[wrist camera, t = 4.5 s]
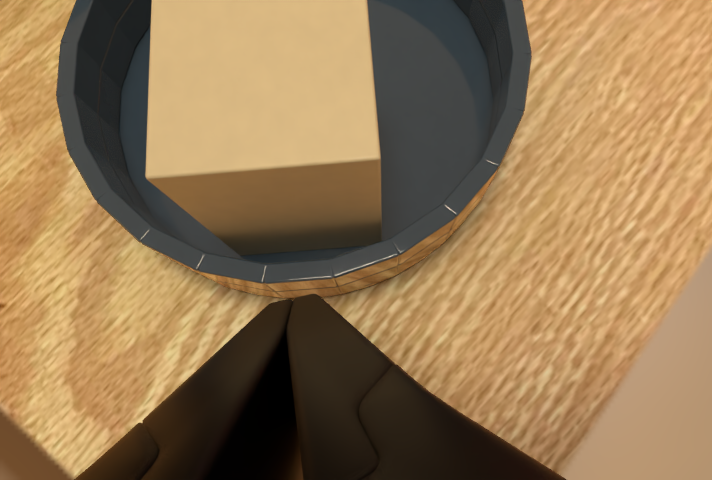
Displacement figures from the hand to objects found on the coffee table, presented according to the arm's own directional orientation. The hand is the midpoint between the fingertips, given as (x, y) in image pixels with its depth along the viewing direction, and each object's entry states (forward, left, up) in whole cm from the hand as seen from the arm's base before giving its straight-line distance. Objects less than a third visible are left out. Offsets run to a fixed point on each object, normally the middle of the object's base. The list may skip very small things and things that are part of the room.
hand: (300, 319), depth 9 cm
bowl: (+9, +1, -9) cm, 13 cm away
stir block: (+6, +1, -9) cm, 10 cm away
